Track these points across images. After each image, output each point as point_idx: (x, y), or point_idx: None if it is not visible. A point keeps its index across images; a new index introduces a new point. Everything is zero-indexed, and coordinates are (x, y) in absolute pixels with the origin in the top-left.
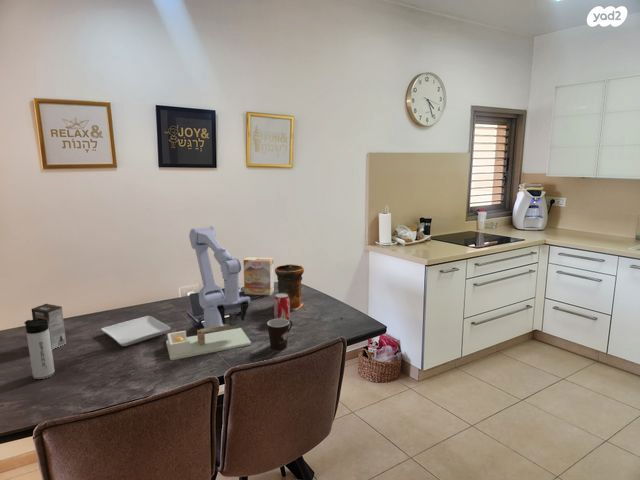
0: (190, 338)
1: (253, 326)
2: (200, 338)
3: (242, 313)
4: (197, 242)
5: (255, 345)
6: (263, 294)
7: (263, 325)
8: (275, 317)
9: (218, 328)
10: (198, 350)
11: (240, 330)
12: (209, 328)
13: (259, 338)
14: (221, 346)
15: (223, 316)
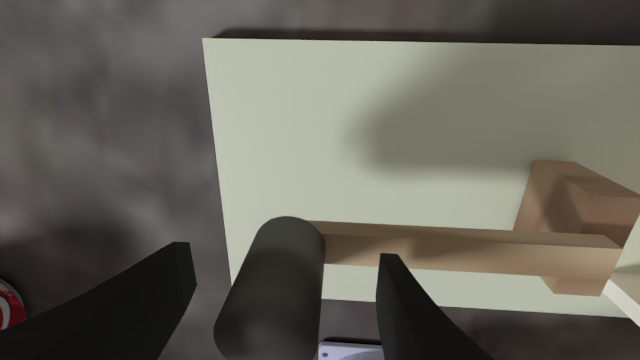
0: None
1: None
2: (608, 182)
3: (131, 301)
4: None
5: (179, 11)
6: None
7: (101, 280)
8: (3, 314)
9: (440, 235)
10: (622, 84)
11: (241, 261)
12: (526, 259)
13: (139, 119)
14: (436, 74)
15: (422, 312)
